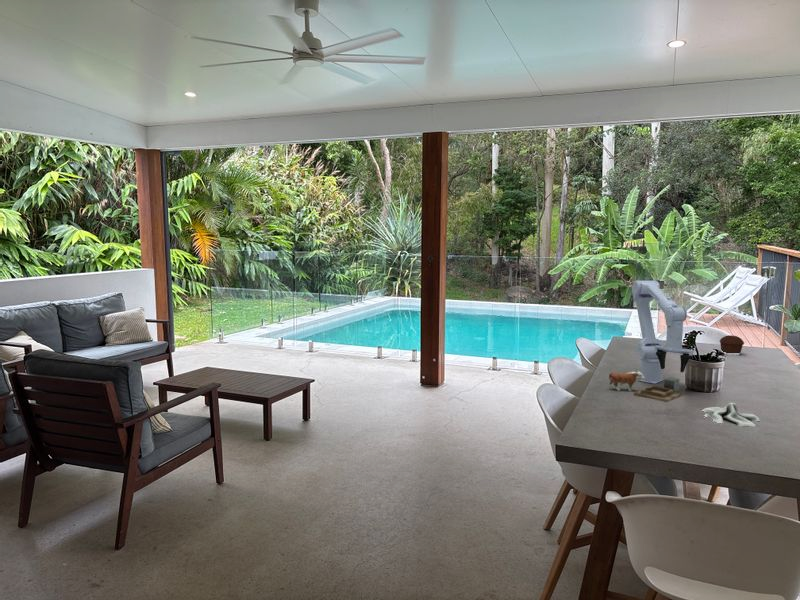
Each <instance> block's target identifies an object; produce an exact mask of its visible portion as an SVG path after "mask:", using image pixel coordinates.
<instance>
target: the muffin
mask: <svg viewBox="0 0 800 600" xmlns="http://www.w3.org/2000/svg"><path fill="white" fill-rule="evenodd" d="M719 343H720V350H722V351H723V352H726V353H740V352H741V353H742V349H743V346H744V345H745V342H744V340H743V339H742V338H741V337H739V336H737V335H732V334H731V335H725V336H723V337H721V338H720V339H719Z"/></svg>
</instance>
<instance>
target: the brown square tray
mask: <svg viewBox="0 0 800 600" xmlns="http://www.w3.org/2000/svg"><path fill="white" fill-rule="evenodd" d="M633 395H634V396H636V397H641V398H647V399H652V400H657V401H661V402H666V403H668V402H670V401H672V400H676V398H679V397H682V393H679V392H674V390H672V389H667V388H664V387H660V386H656V385H649V386H647V387H644V388H642V389H639V390H638V391H636V392H634V393H633Z"/></svg>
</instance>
